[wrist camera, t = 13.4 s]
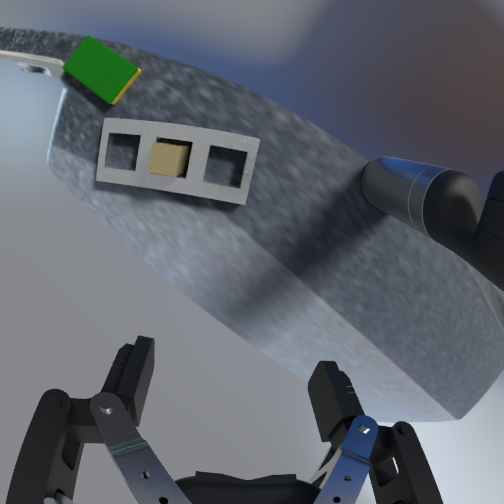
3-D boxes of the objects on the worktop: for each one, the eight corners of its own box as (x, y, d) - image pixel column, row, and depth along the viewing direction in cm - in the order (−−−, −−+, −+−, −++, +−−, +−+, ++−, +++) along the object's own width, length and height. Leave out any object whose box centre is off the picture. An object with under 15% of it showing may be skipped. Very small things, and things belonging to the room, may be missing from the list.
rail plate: (258, 139, 39) (260, 139, 37) (244, 201, 43) (245, 205, 40) (111, 118, 36) (104, 117, 33) (102, 178, 39) (95, 180, 37)
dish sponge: (93, 38, 30) (87, 34, 27) (143, 71, 34) (138, 68, 31) (68, 70, 31) (61, 67, 29) (115, 105, 35) (109, 104, 33)
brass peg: (190, 146, 39) (181, 146, 32) (184, 171, 40) (175, 177, 34) (165, 142, 38) (152, 142, 32) (160, 167, 40) (147, 172, 33)
